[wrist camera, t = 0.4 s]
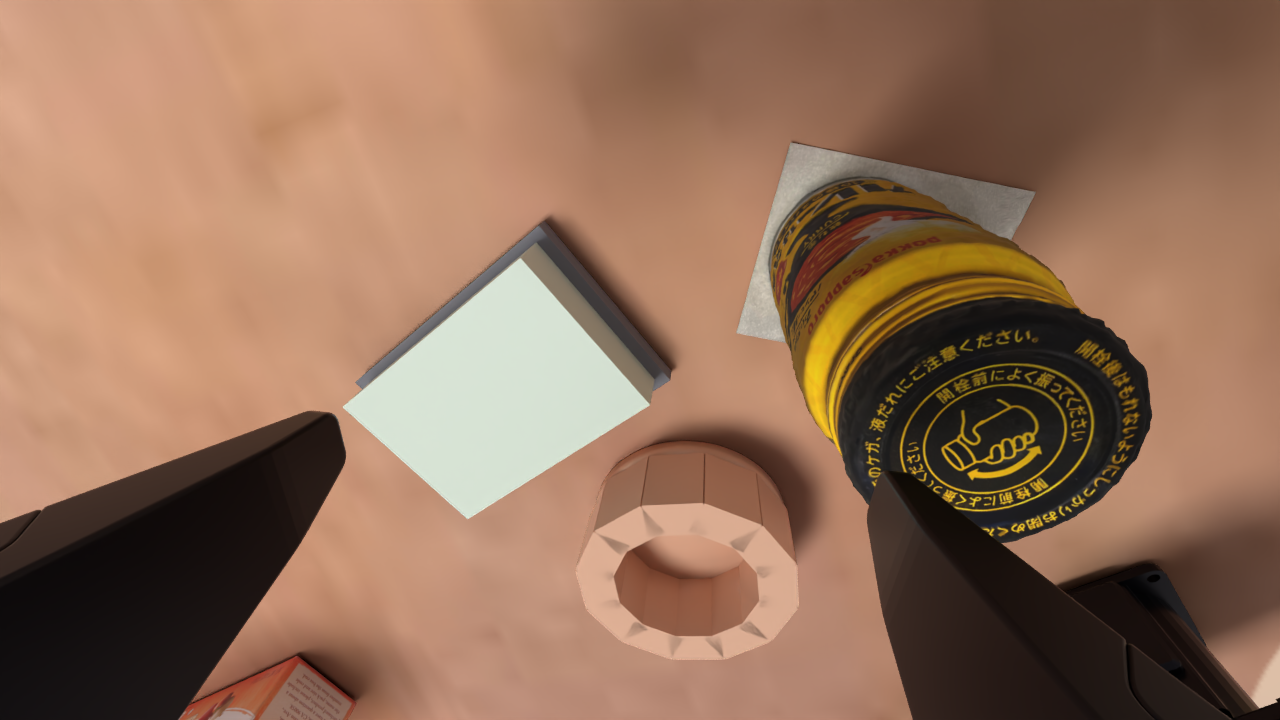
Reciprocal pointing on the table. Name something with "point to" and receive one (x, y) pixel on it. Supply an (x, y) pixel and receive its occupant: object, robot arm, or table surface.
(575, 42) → the table surface
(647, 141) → the table surface
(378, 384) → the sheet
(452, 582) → the table surface
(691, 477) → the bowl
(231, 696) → the cracker box
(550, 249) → the mat
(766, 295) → the condiment
